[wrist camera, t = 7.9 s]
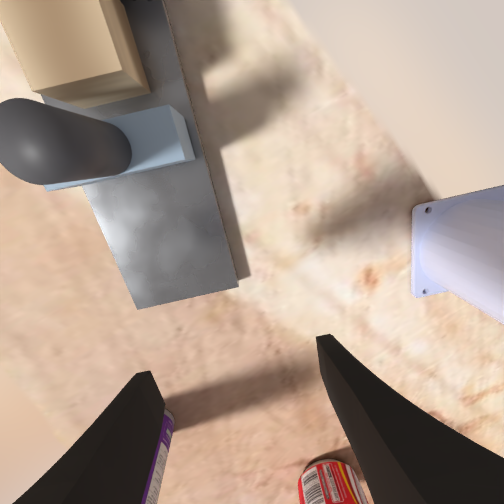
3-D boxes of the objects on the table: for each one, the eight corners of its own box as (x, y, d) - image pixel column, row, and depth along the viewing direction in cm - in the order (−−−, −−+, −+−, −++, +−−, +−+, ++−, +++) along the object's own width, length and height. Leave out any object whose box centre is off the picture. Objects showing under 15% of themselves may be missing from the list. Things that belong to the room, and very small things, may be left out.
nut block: (123, 6, 13) (79, -56, 9) (151, 92, 15) (122, 69, 11) (50, 24, 13) (-24, -31, 9) (84, 108, 15) (32, 91, 11)
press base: (150, -52, 13) (103, -169, 8) (238, 280, 20) (239, 317, 15) (3, -16, 13) (-124, -112, 9) (141, 302, 20) (114, 345, 16)
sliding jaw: (183, 117, 15) (129, 70, 7) (195, 159, 16) (158, 159, 8) (69, 143, 15) (-108, 127, 7) (86, 184, 16) (-54, 208, 8)
